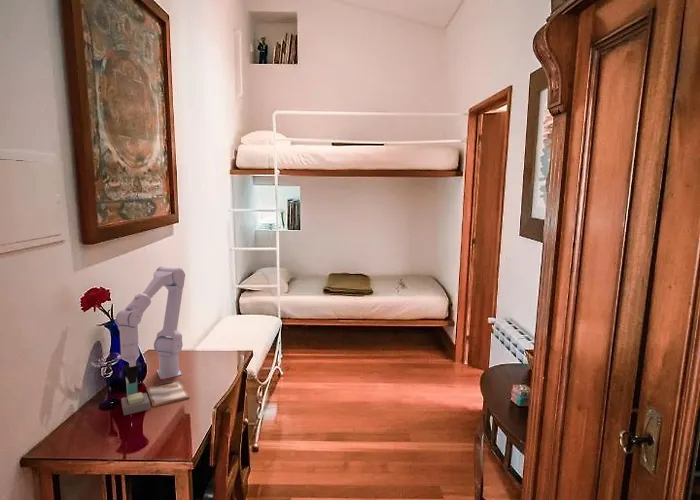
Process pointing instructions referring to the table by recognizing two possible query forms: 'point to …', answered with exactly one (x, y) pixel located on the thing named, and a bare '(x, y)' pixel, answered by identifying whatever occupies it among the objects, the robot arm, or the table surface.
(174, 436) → the table surface
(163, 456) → the table surface
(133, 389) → the teal rimmed box
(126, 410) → the button housing
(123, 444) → the table surface
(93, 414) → the table surface
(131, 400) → the button
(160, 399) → the clipboard
